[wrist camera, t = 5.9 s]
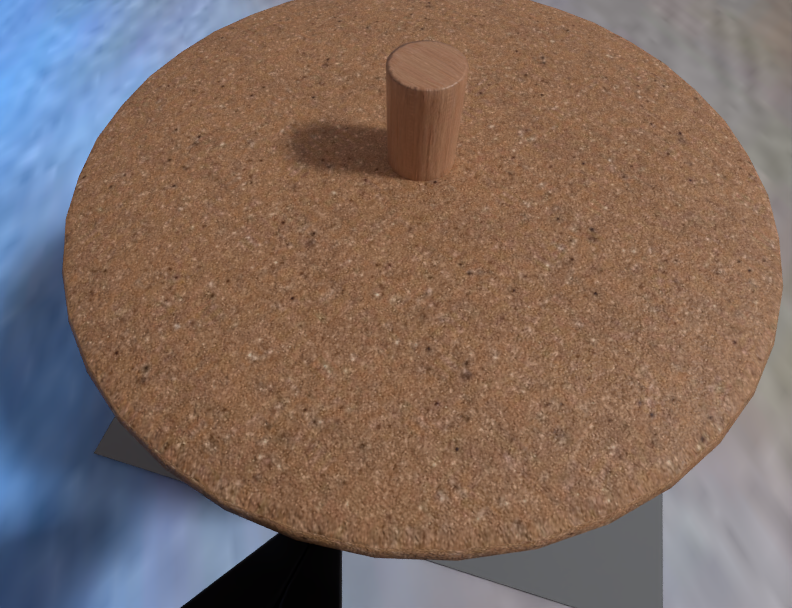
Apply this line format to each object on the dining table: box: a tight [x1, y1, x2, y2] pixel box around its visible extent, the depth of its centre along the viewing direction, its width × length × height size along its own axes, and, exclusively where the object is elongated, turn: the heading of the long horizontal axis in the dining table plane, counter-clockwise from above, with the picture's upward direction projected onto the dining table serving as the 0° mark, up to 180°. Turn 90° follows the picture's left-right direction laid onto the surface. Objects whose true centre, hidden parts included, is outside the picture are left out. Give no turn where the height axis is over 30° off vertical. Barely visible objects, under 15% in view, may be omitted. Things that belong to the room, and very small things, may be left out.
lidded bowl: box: [62, 0, 783, 561], centre depth 11 cm, size 13×13×11 cm
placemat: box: [94, 417, 663, 608], centre depth 18 cm, size 18×18×1 cm
